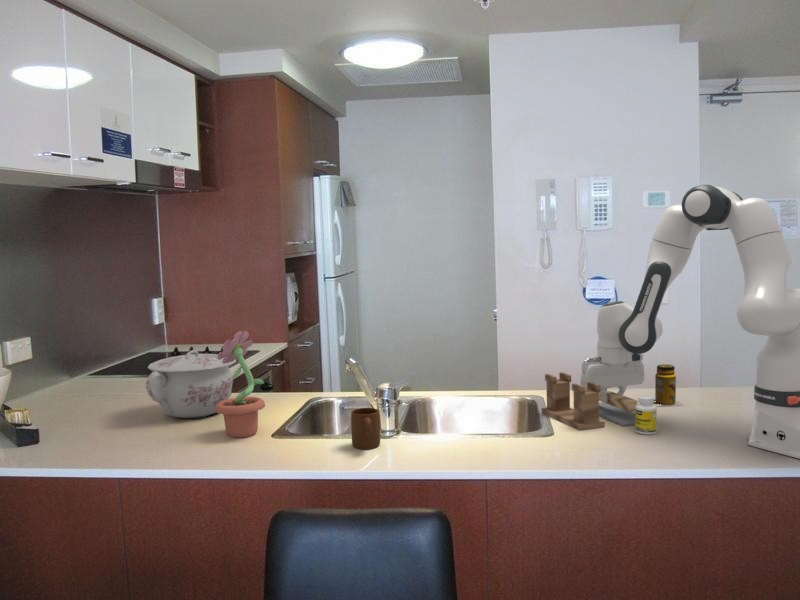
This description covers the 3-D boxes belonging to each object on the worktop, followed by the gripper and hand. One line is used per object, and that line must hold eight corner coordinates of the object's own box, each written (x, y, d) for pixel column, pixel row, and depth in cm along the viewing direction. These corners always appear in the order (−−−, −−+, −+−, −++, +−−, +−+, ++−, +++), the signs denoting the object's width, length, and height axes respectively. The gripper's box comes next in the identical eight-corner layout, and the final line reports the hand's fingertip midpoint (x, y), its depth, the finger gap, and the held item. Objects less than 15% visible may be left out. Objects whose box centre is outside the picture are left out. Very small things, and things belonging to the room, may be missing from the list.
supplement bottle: (632, 432, 195) (632, 397, 194) (640, 428, 199) (640, 393, 198) (651, 436, 191) (651, 400, 190) (659, 431, 195) (659, 396, 194)
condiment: (681, 405, 223) (681, 367, 222) (655, 406, 222) (655, 368, 220) (669, 399, 230) (669, 362, 229) (644, 401, 229) (644, 364, 228)
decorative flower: (246, 424, 216) (240, 326, 213) (279, 430, 208) (274, 328, 205) (206, 437, 203) (200, 332, 200) (240, 444, 195) (234, 335, 193)
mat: (652, 422, 204) (652, 420, 204) (622, 426, 201) (622, 424, 201) (603, 403, 227) (603, 401, 227) (575, 407, 224) (575, 405, 224)
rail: (637, 410, 205) (637, 400, 205) (628, 412, 204) (628, 401, 204) (597, 395, 224) (597, 386, 224) (589, 396, 223) (589, 387, 223)
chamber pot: (234, 399, 248) (231, 340, 246) (243, 418, 222) (240, 353, 220) (149, 408, 240) (145, 347, 238) (148, 429, 214) (143, 360, 212)
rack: (604, 427, 201) (604, 385, 200) (579, 430, 199) (579, 387, 197) (564, 409, 221) (564, 371, 220) (541, 412, 218) (541, 374, 217)
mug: (384, 453, 183) (383, 418, 182) (354, 456, 182) (353, 420, 181) (378, 440, 195) (377, 406, 194) (350, 442, 194) (349, 408, 193)
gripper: (588, 360, 206) (588, 407, 208) (647, 354, 213) (647, 400, 214) (576, 357, 212) (576, 402, 214) (634, 351, 219) (634, 395, 220)
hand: (612, 401), depth 214 cm, fingers closed on rail, 3 cm apart
